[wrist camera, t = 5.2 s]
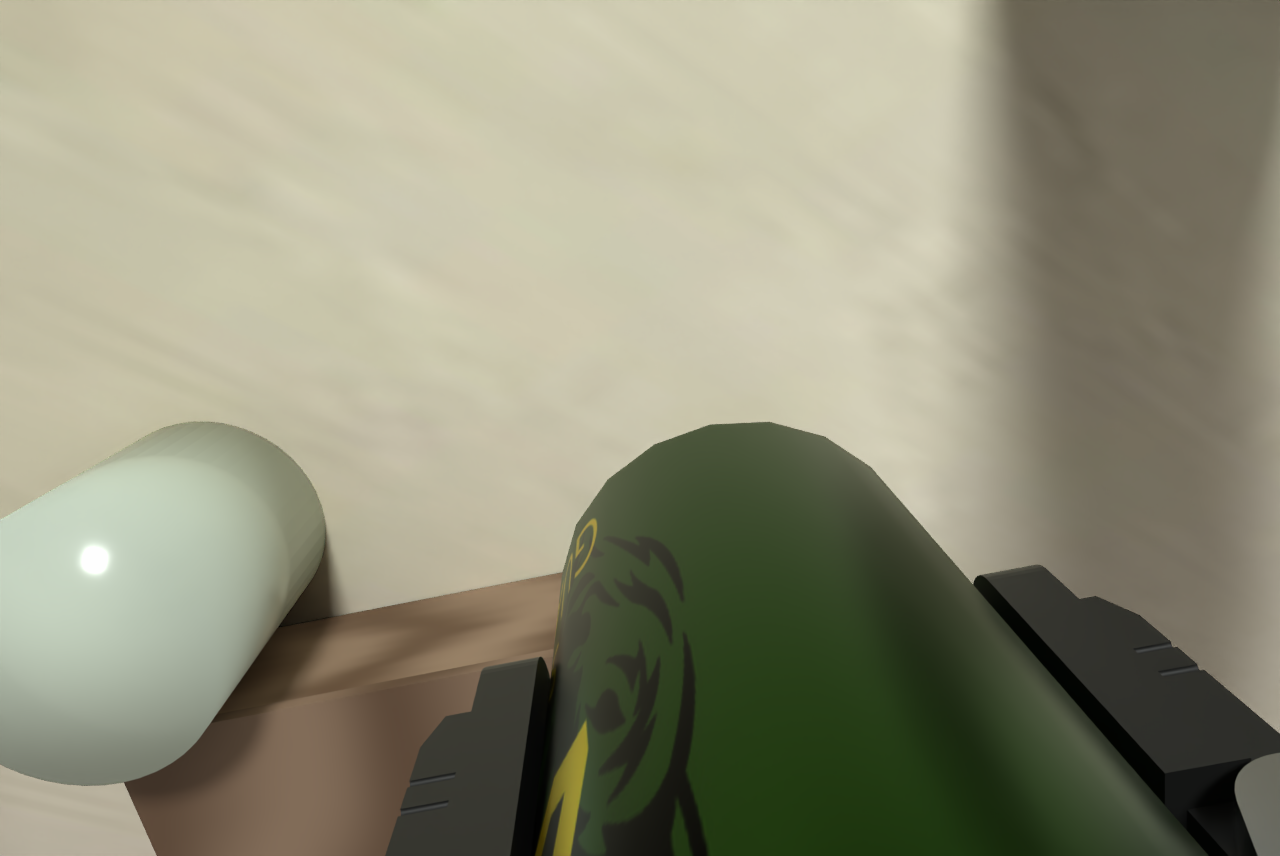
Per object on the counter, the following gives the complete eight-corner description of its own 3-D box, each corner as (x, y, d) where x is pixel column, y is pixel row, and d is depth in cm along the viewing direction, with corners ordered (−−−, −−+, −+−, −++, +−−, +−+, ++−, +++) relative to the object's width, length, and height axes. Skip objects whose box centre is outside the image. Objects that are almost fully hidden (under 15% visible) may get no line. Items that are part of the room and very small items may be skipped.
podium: (584, 554, 28) (581, 651, 22) (653, 858, 32) (666, 1008, 26) (206, 627, 28) (106, 743, 22) (320, 922, 32) (260, 1086, 26)
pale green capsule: (287, 402, 26) (161, 494, 18) (351, 598, 28) (261, 755, 21) (69, 445, 26) (-148, 555, 19) (148, 638, 28) (-17, 809, 21)
